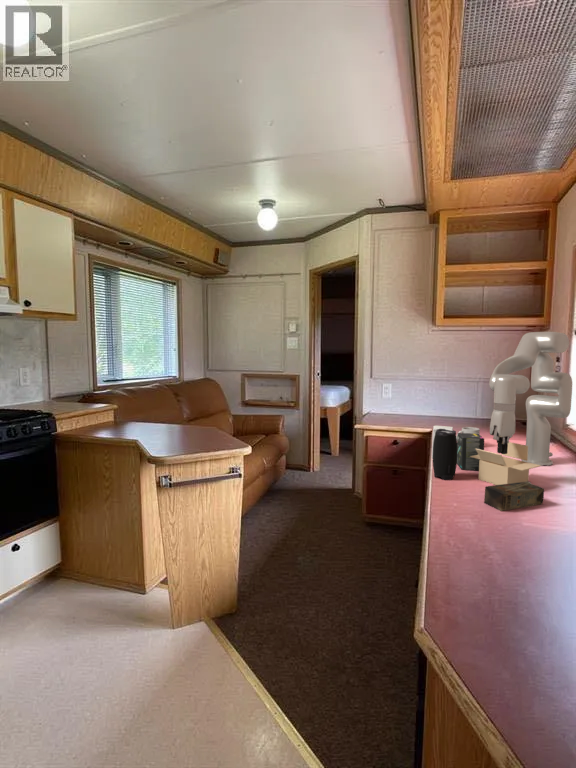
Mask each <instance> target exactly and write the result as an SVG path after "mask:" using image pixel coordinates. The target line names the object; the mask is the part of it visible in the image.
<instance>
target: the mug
mask: <svg viewBox="0 0 576 768" xmlns="http://www.w3.org/2000/svg"><path fill="white" fill-rule="evenodd" d="M458 433H471V434H479V435H480V433H481V431H480V428H479V427H473V426H462V427H461V430H459V431H457V432H456V438H457V436H458Z"/></svg>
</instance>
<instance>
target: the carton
mask: <svg viewBox="0 0 576 768" xmlns="http://www.w3.org/2000/svg"><path fill="white" fill-rule="evenodd" d="M470 457H472V458H476V459H480V460H479V471H478V480H479V481H482V482H485V481H486V483H488V482H489V483H488V484H491V483H492V485H502V484H510V483H520V482H529V476H530V475H529V473H530V470H531V469H535V468H539V467H542V465H537V464H533V463H529V462H524V461H522V460H521V459H517V458H513V457H508V456H504V455H502V457H503V459H504V461H505V463H506V465H507V466H505V465H501V464H497V463H493V462H490V461H486V460H482V459H481V458H480V456H479V455H474V456H470Z"/></svg>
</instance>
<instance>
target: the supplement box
mask: <svg viewBox="0 0 576 768" xmlns="http://www.w3.org/2000/svg"><path fill="white" fill-rule="evenodd" d="M453 428H454V427H453V426H444V425H433V429H432V442H431V443H432V445H431V459H432V460H433V442H434V437H435V432H436V430H437V429H446V430H450V431H453V430H454V429H453Z"/></svg>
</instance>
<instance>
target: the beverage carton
mask: <svg viewBox="0 0 576 768" xmlns="http://www.w3.org/2000/svg"><path fill="white" fill-rule="evenodd" d="M544 493H545V488H544V487H541V486H539V485H535V484H532V483H531V481H528V482H520V483H510V484H502V485H495V484H492V485H488V486H487V485H486V486H485V487H484V497H483V498H484V500H483V503H484V504H486V505H487V504H488V505H487V506H490V507H492V508H493V507H494V508H493V509H496V510H498V511H499V512H502V511H504V512H505V511H510V510H516V509H517V510H518V509H521V508H522V509H523V508H528V507H535V506H539V505H543V504H544V501H545V500H544V498H545V496H544V495H545V494H544Z"/></svg>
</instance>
